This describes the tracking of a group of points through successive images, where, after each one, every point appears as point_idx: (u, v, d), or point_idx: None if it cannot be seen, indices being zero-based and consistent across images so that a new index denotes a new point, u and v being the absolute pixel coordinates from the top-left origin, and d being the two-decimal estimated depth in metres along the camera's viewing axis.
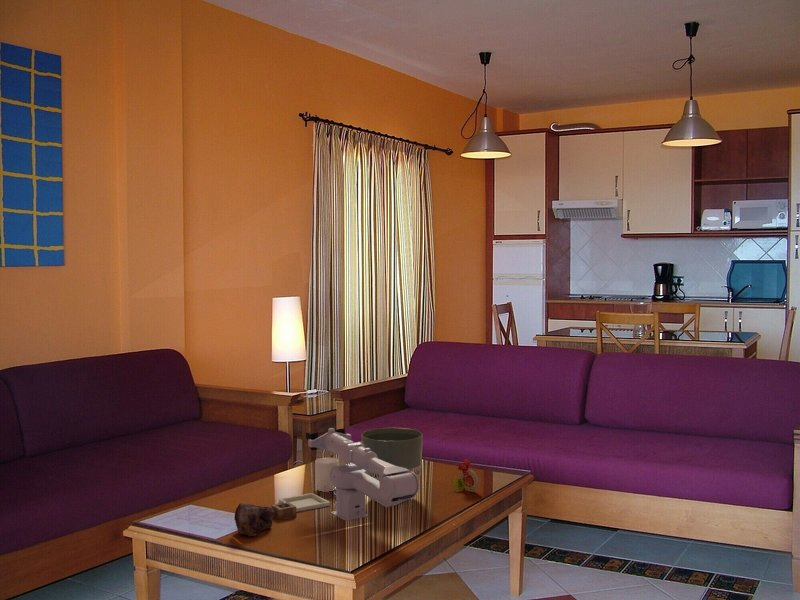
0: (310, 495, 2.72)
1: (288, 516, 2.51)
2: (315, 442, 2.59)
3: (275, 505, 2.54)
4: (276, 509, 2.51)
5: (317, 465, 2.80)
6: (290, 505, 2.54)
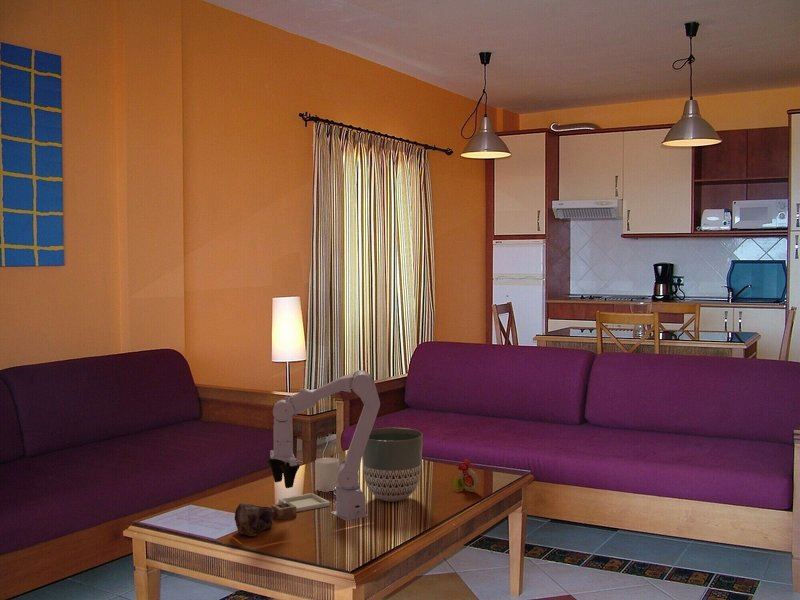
0: (310, 495, 2.72)
1: (288, 516, 2.51)
2: (290, 459, 2.48)
3: (275, 505, 2.54)
4: (276, 509, 2.51)
5: (317, 465, 2.80)
6: (290, 505, 2.54)
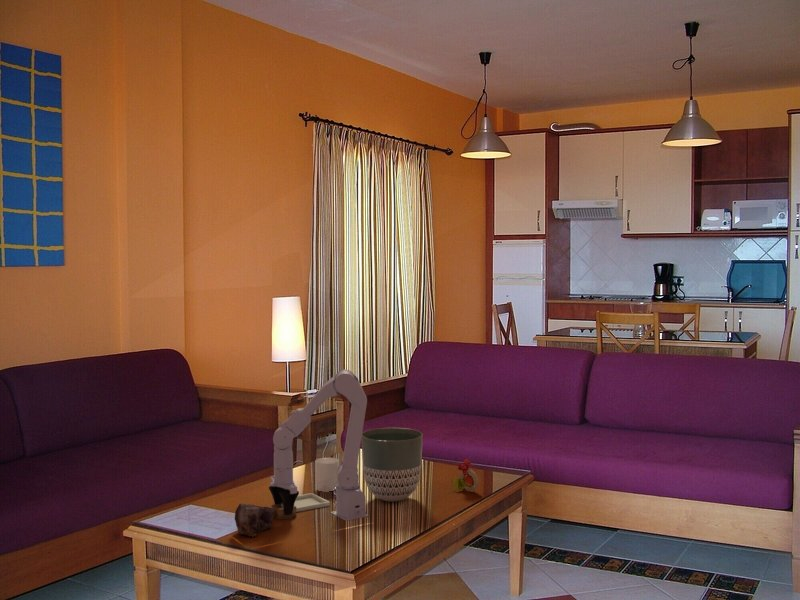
0: (310, 495, 2.72)
1: (288, 516, 2.51)
2: (290, 487, 2.48)
3: (275, 505, 2.54)
4: (276, 509, 2.51)
5: (317, 465, 2.80)
6: None
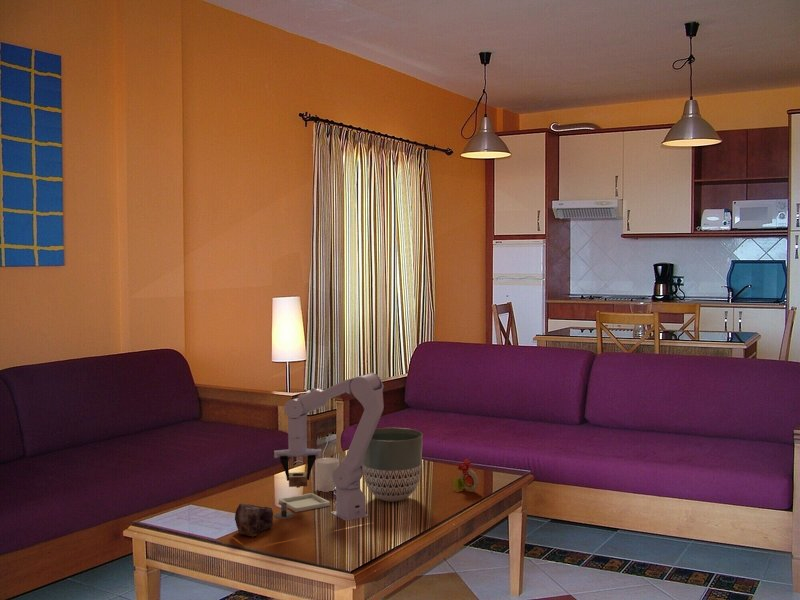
0: (310, 495, 2.72)
1: None
2: (315, 451, 2.61)
3: (292, 476, 2.59)
4: (300, 478, 2.58)
5: (317, 465, 2.80)
6: (300, 473, 2.63)
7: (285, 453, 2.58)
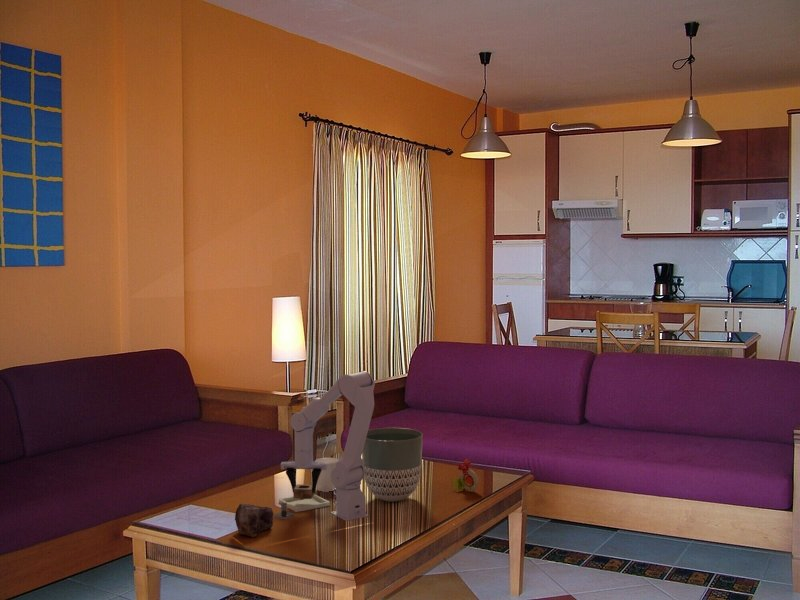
0: None
1: (312, 495, 2.65)
2: None
3: (297, 488, 2.63)
4: (304, 490, 2.62)
5: None
6: (307, 485, 2.66)
7: (290, 465, 2.63)
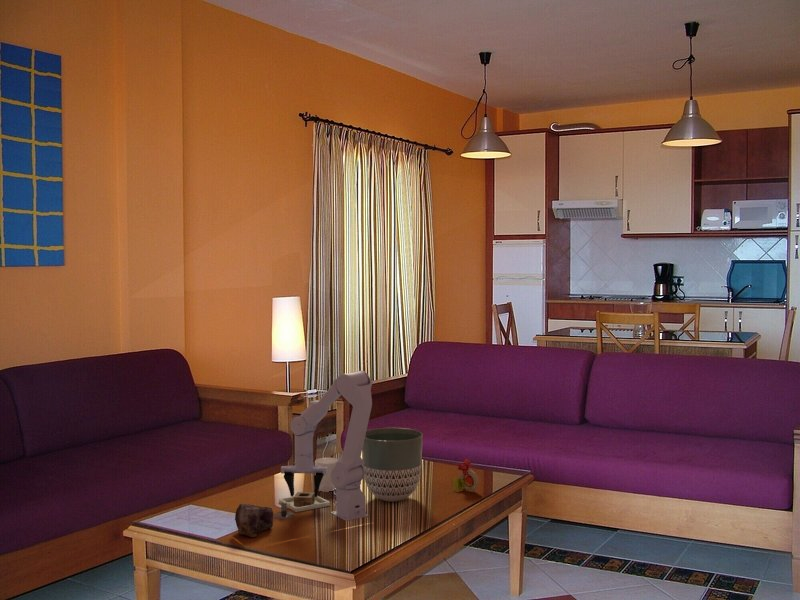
0: None
1: (313, 502, 2.65)
2: None
3: (297, 496, 2.63)
4: (304, 498, 2.62)
5: (317, 465, 2.80)
6: (308, 493, 2.66)
7: (291, 469, 2.63)
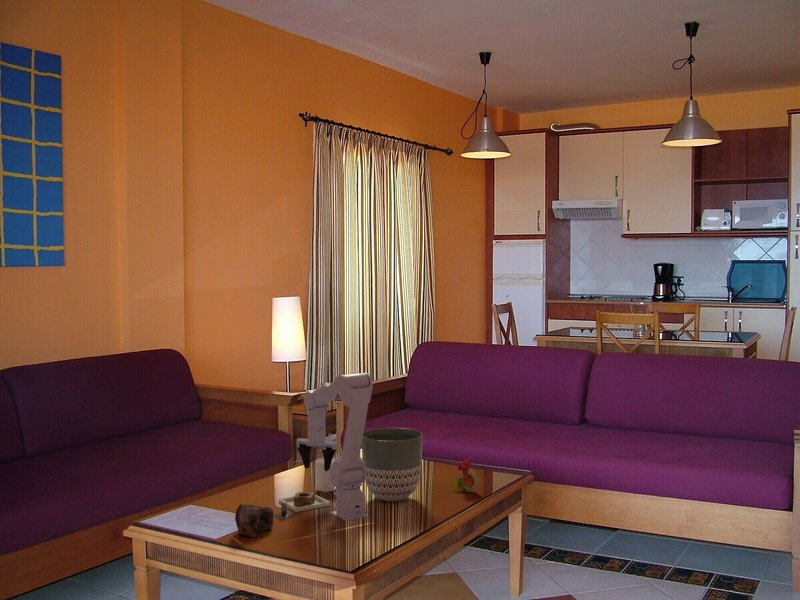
0: None
1: (313, 502, 2.65)
2: None
3: (297, 496, 2.63)
4: (304, 498, 2.62)
5: (317, 465, 2.80)
6: (308, 493, 2.66)
7: (303, 442, 2.71)
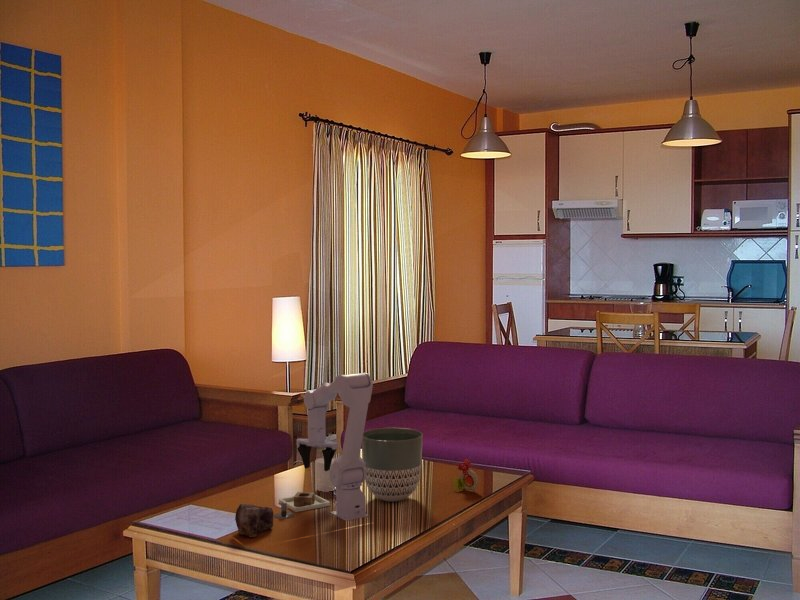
0: None
1: (313, 502, 2.65)
2: None
3: (297, 496, 2.63)
4: (304, 498, 2.62)
5: (317, 465, 2.80)
6: (308, 493, 2.66)
7: (303, 442, 2.71)
